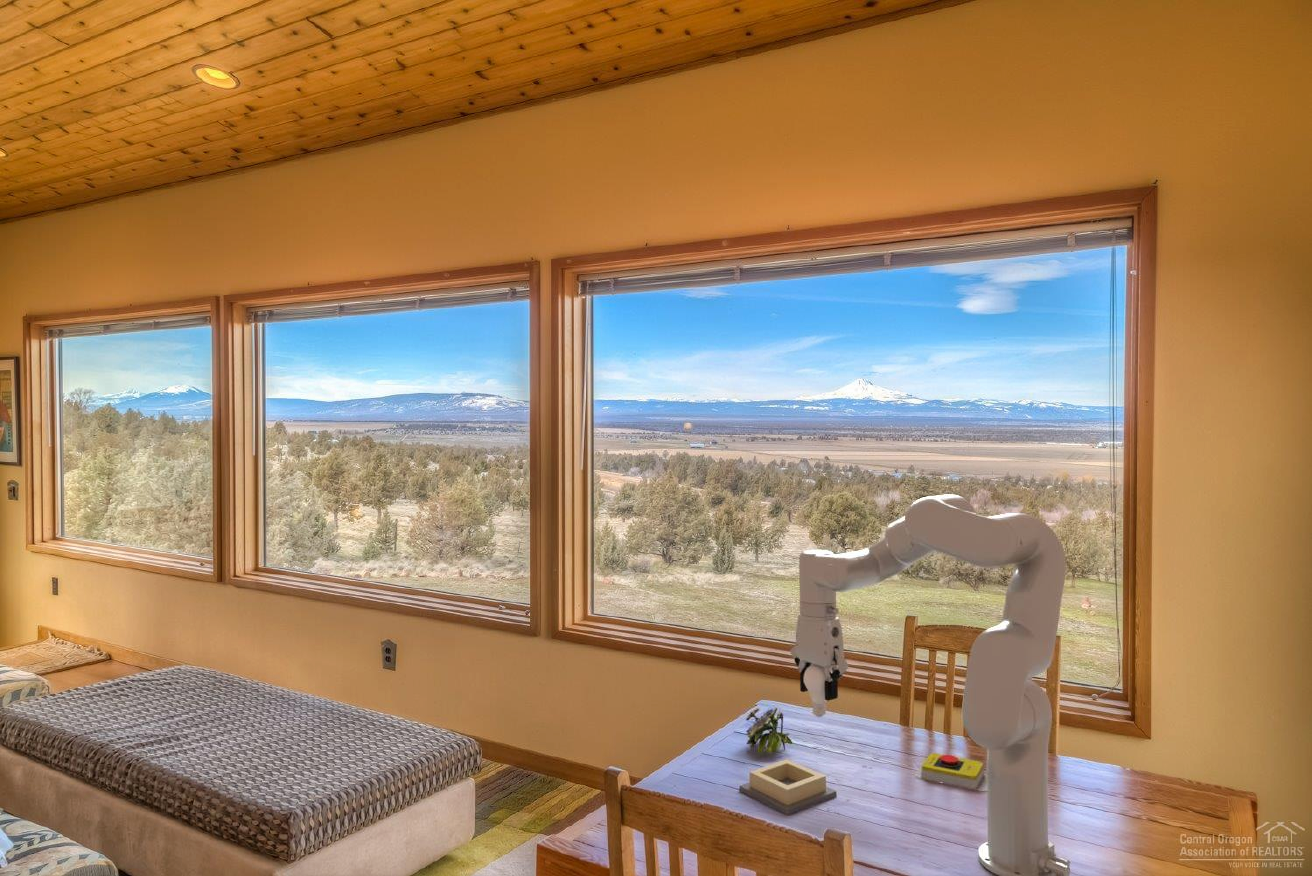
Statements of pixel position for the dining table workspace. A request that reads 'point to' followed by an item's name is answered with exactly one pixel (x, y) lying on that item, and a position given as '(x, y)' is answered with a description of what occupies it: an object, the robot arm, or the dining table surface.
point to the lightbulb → (816, 688)
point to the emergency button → (954, 771)
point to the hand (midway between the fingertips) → (818, 694)
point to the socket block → (787, 786)
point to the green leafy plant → (772, 736)
